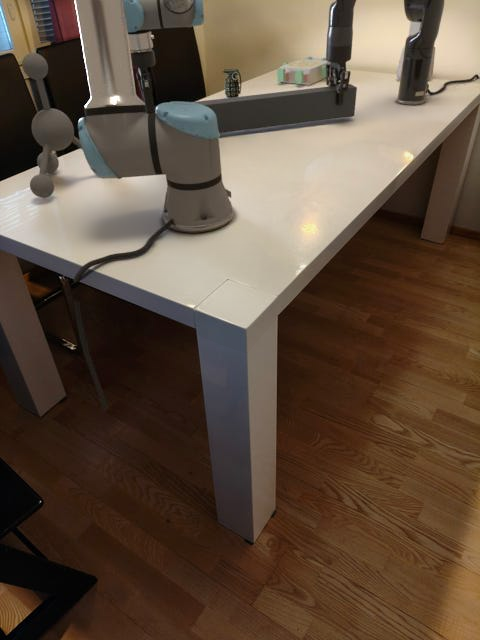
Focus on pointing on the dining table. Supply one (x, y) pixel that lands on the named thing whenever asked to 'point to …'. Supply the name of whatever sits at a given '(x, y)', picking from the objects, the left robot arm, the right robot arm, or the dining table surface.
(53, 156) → the molecular model
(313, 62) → the decorative block
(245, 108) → the bar
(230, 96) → the grenade
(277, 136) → the dining table surface
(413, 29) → the electronic device
